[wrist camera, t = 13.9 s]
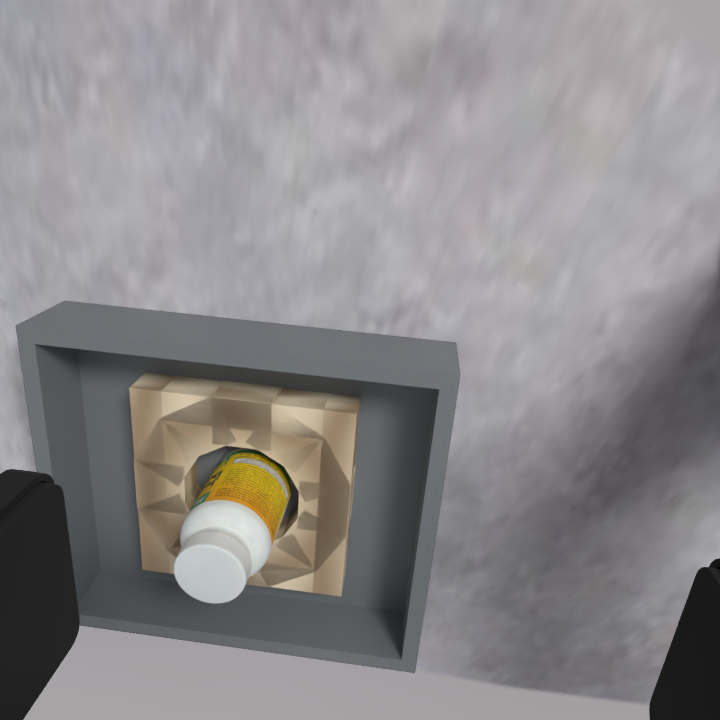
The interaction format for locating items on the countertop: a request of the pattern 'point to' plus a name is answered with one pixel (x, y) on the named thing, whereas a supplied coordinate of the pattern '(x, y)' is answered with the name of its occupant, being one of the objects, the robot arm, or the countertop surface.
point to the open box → (245, 365)
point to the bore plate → (254, 431)
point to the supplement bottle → (232, 526)
